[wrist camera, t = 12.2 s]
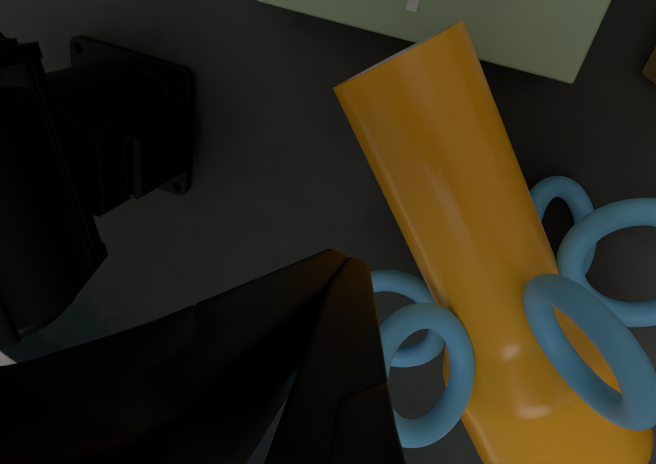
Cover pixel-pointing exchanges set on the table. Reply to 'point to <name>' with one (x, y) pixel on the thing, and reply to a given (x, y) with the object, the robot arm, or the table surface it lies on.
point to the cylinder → (498, 273)
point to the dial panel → (481, 27)
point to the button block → (651, 67)
